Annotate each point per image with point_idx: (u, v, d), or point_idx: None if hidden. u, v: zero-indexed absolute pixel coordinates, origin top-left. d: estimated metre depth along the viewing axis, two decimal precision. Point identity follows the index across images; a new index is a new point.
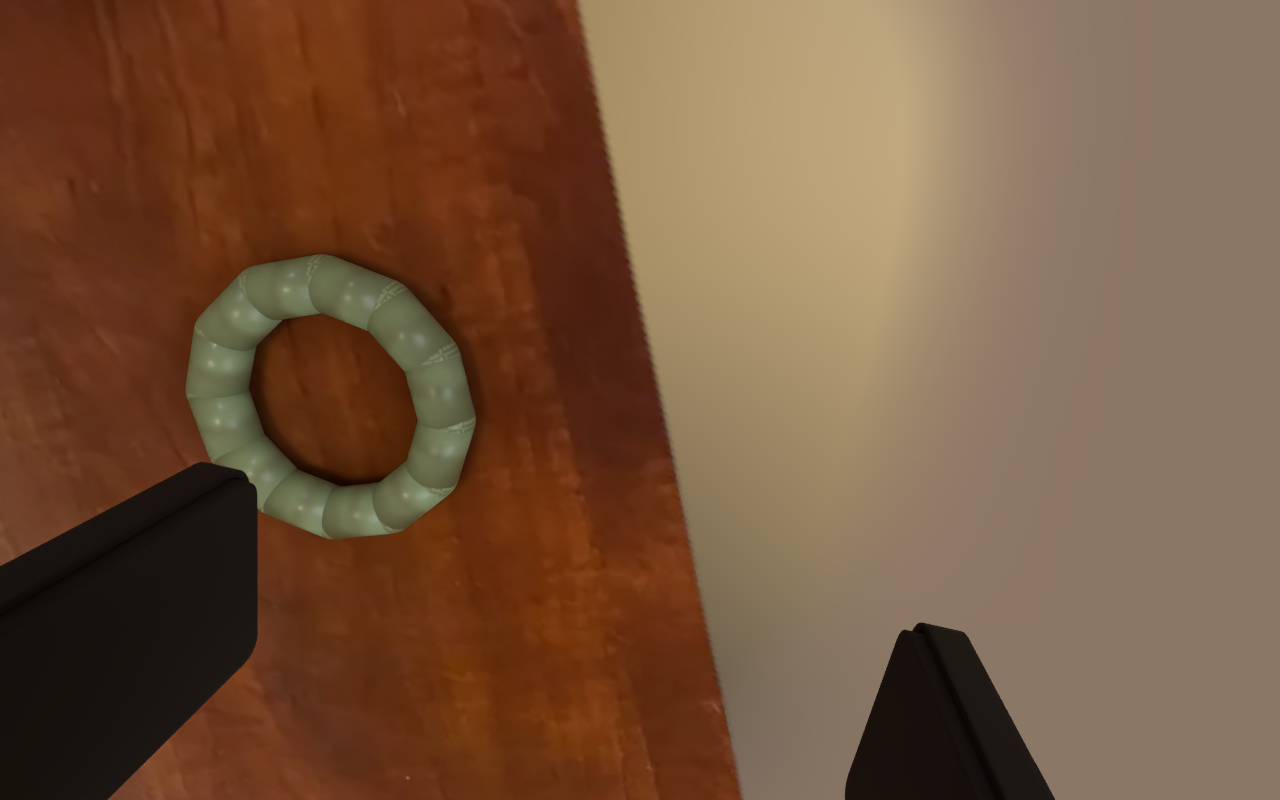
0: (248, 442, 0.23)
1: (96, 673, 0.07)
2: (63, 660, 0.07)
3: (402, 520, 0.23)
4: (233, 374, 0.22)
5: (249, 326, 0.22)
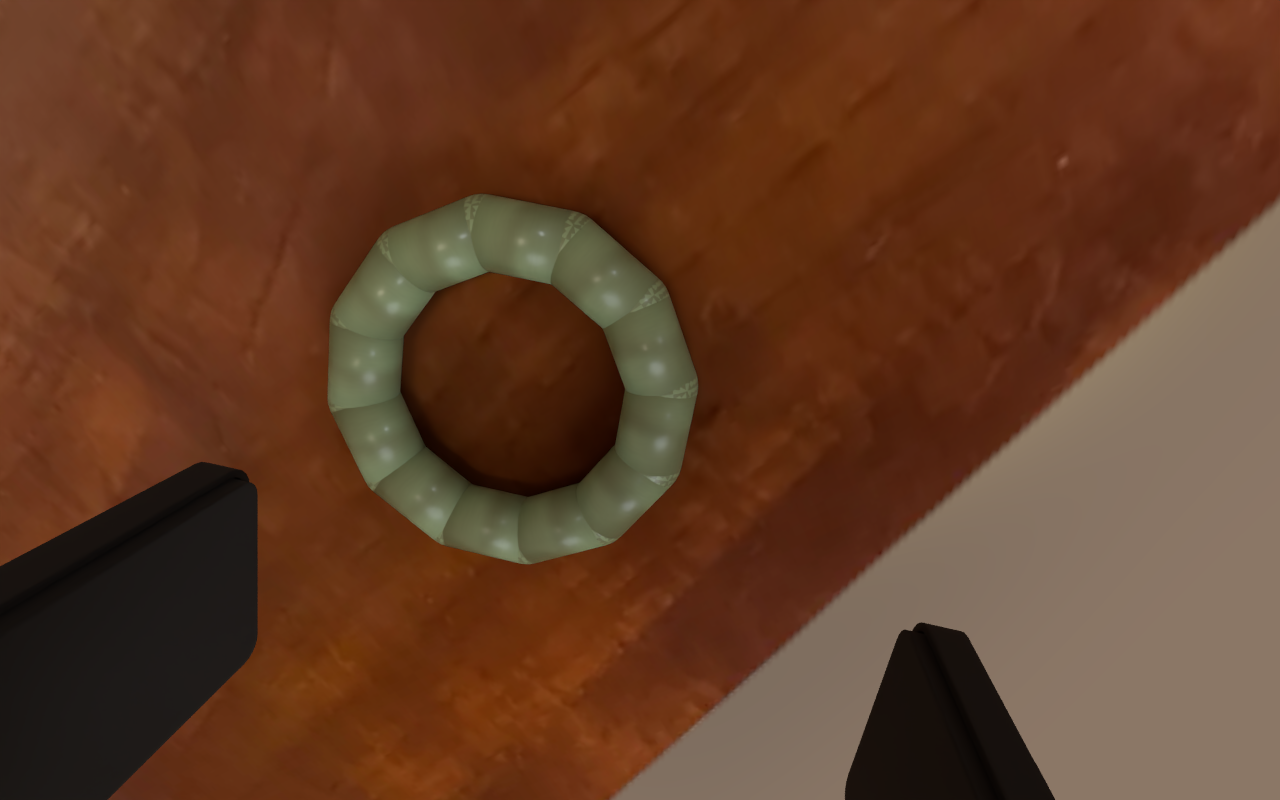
0: (389, 340, 0.17)
1: (97, 673, 0.07)
2: (63, 660, 0.07)
3: (461, 547, 0.19)
4: (451, 279, 0.17)
5: (524, 269, 0.16)
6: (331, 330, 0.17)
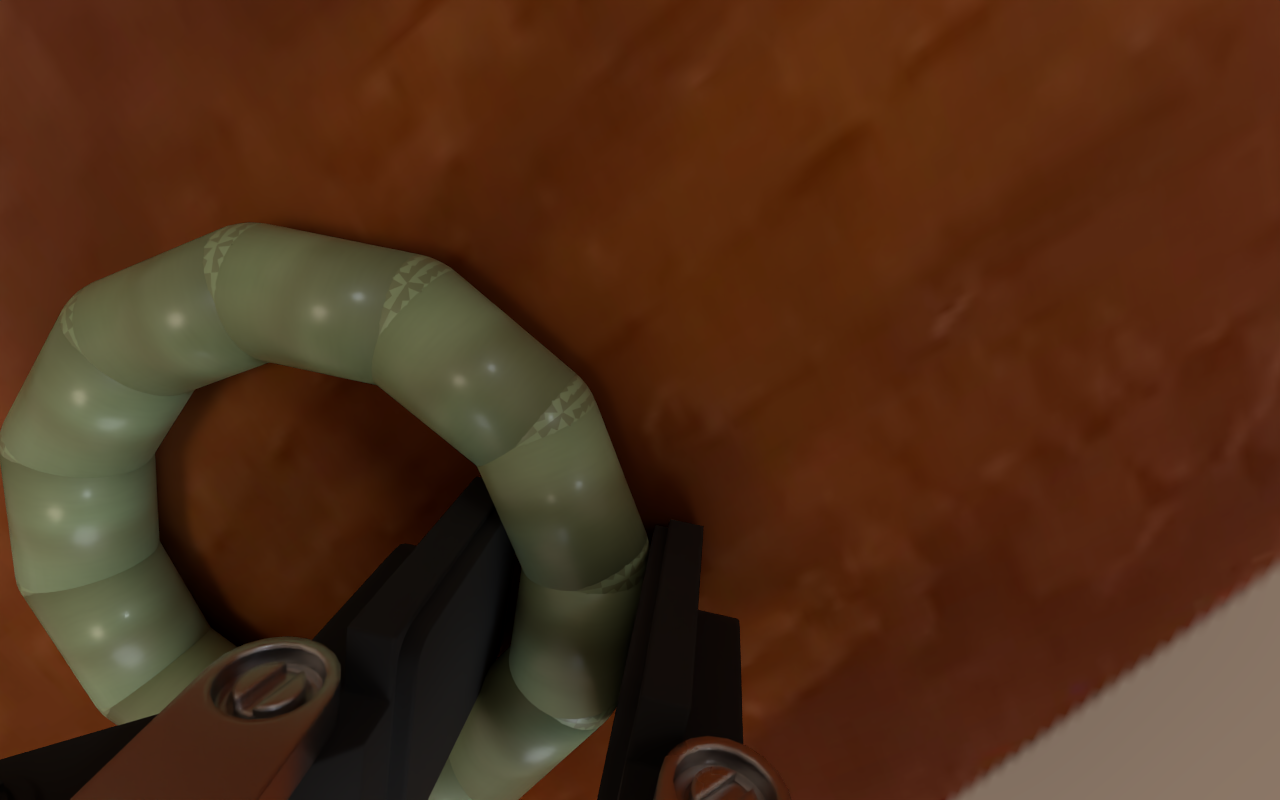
0: (109, 476, 0.10)
1: (451, 665, 0.08)
2: (443, 653, 0.08)
3: None
4: (200, 376, 0.09)
5: (324, 364, 0.09)
6: (0, 461, 0.10)
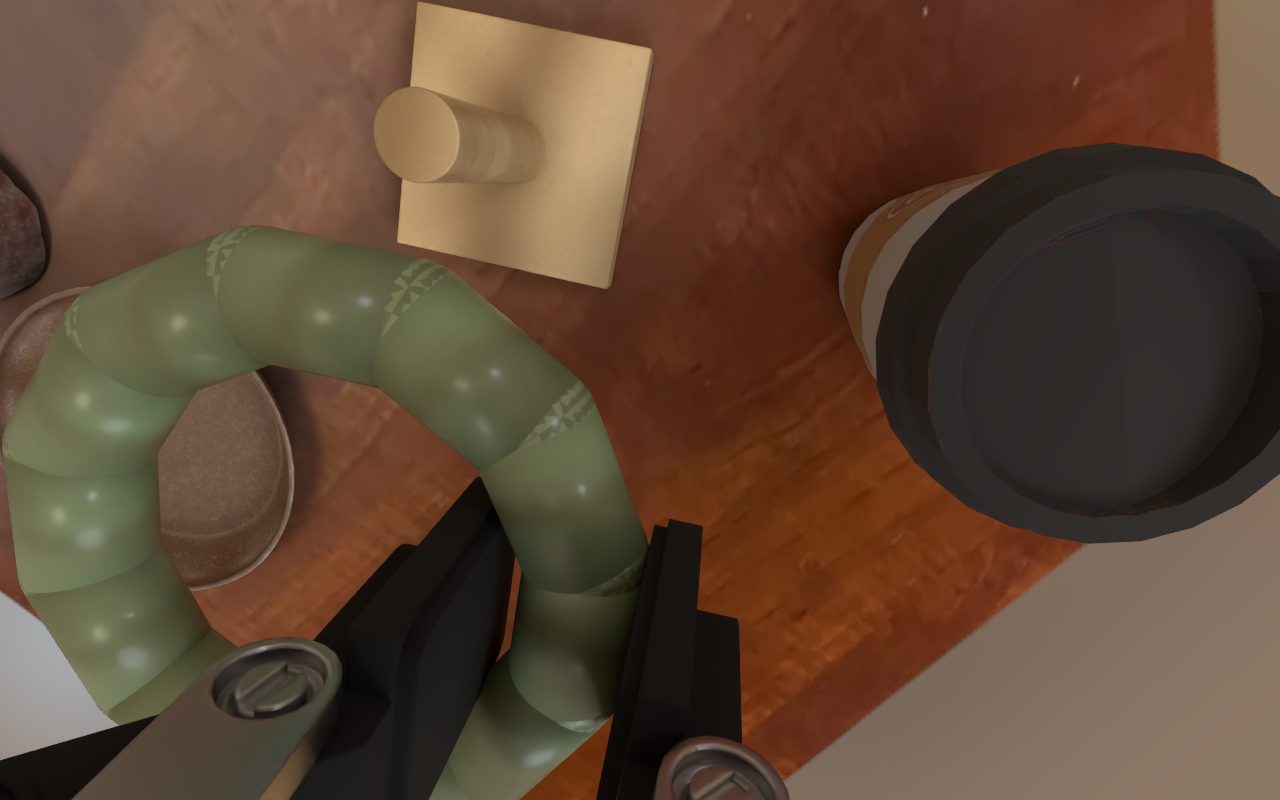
0: (111, 477, 0.10)
1: (452, 665, 0.08)
2: (444, 654, 0.08)
3: None
4: (202, 378, 0.09)
5: (325, 366, 0.09)
6: None
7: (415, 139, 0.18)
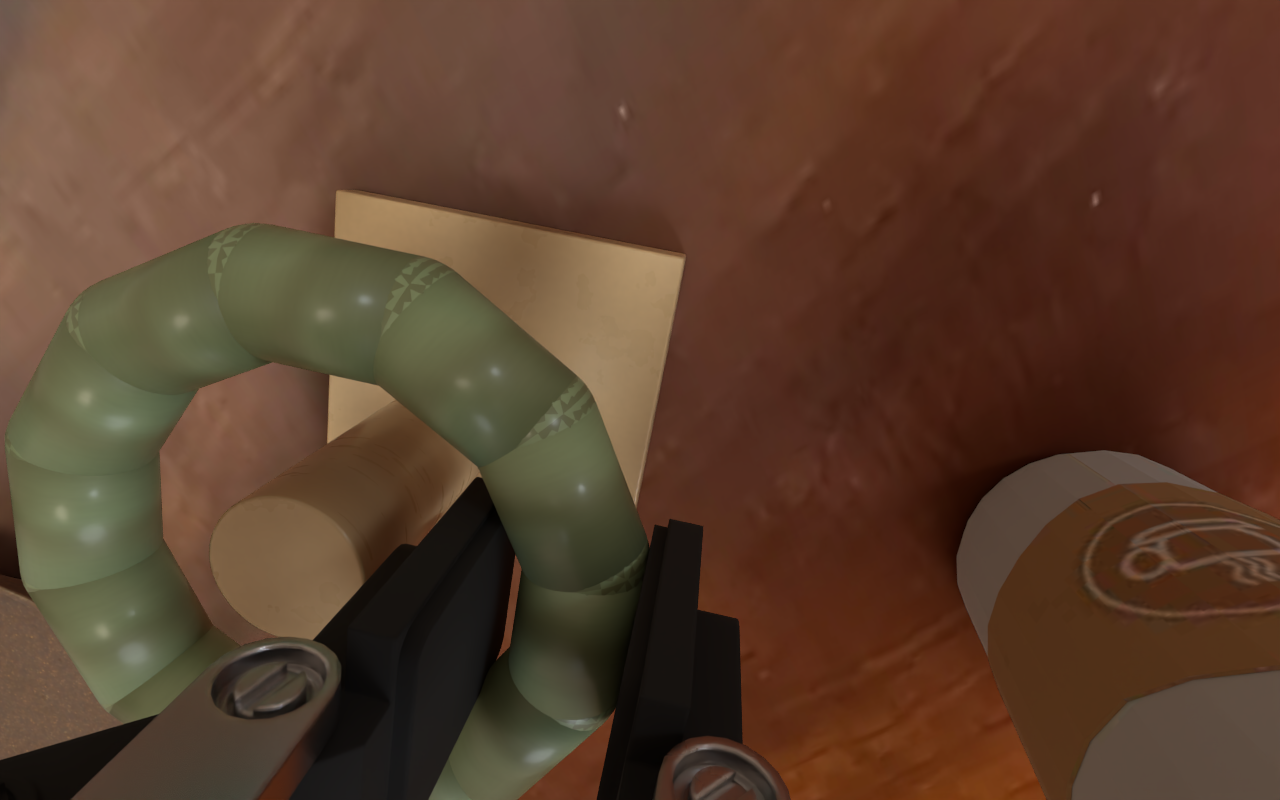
0: (113, 474, 0.10)
1: (451, 666, 0.08)
2: (443, 654, 0.08)
3: None
4: (204, 375, 0.09)
5: (326, 364, 0.09)
6: (6, 459, 0.10)
7: (285, 578, 0.10)
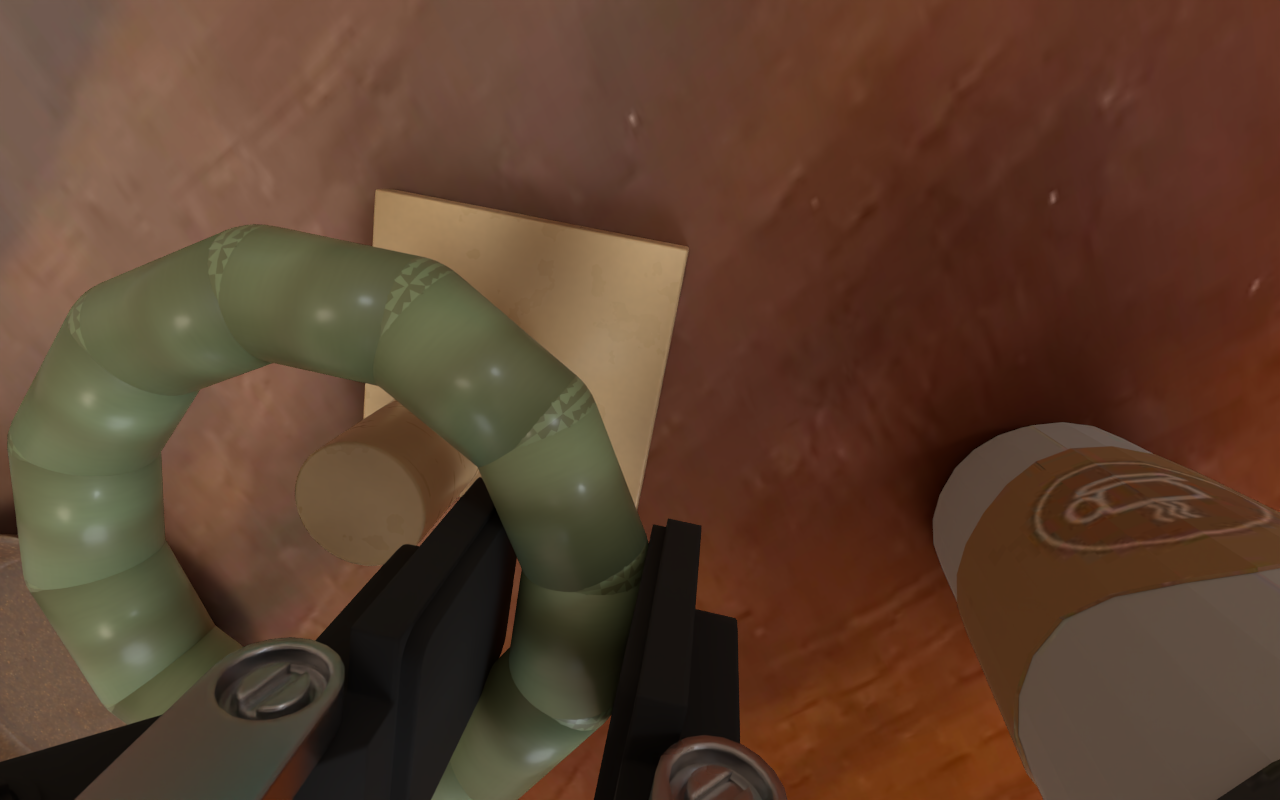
0: (115, 475, 0.10)
1: (454, 665, 0.08)
2: (446, 654, 0.08)
3: None
4: (204, 376, 0.09)
5: (326, 365, 0.09)
6: None
7: (359, 511, 0.12)
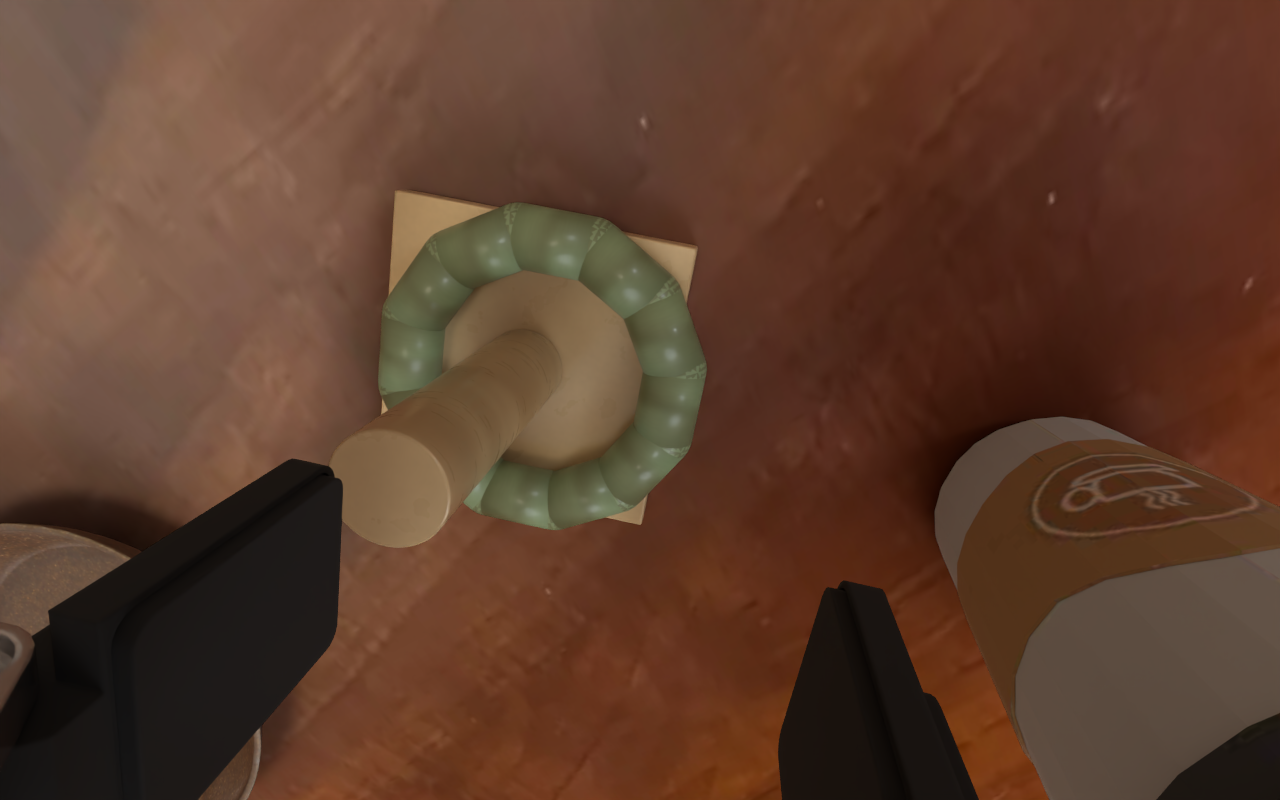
0: (434, 331, 0.20)
1: (217, 654, 0.08)
2: (194, 641, 0.07)
3: (497, 516, 0.21)
4: (490, 276, 0.19)
5: (556, 267, 0.18)
6: (383, 322, 0.20)
7: (387, 495, 0.13)
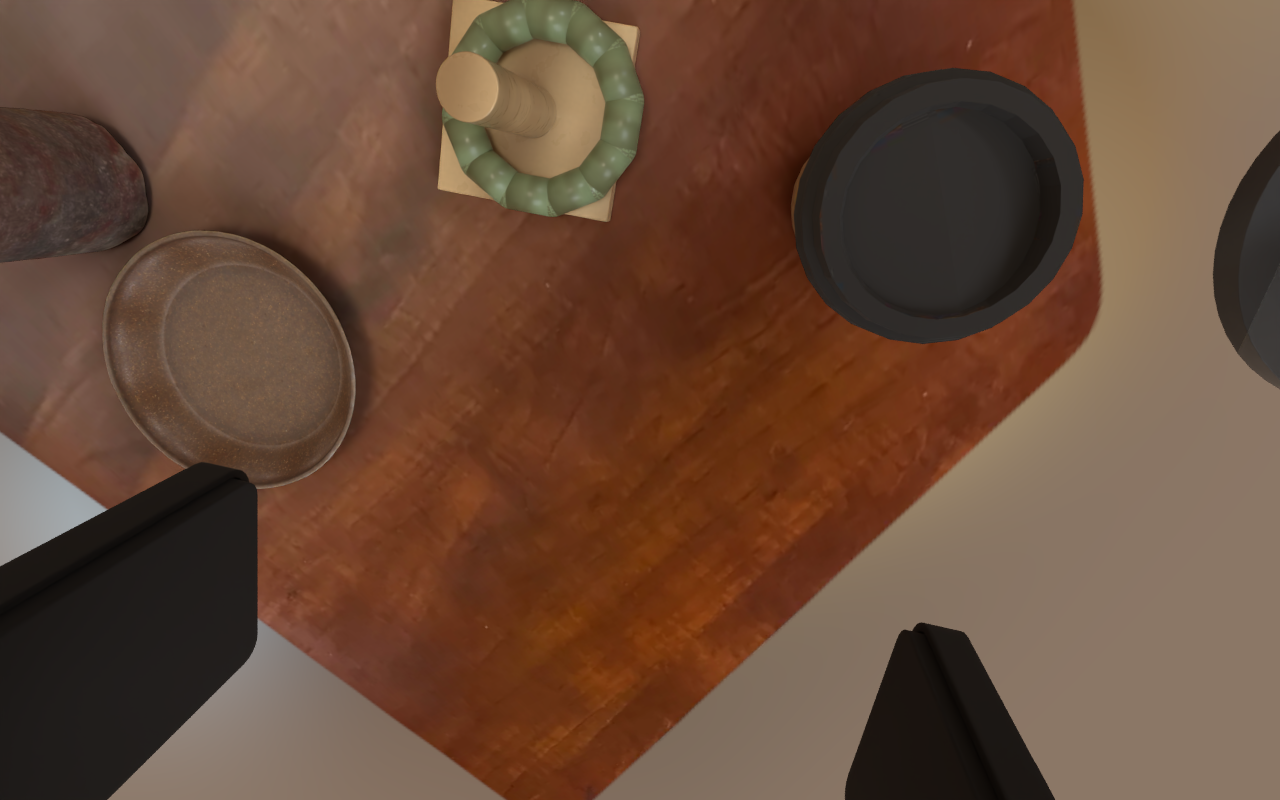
0: None
1: (96, 673, 0.07)
2: (63, 660, 0.07)
3: (515, 204, 0.33)
4: (512, 40, 0.31)
5: (552, 31, 0.31)
6: None
7: (466, 89, 0.25)
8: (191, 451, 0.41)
